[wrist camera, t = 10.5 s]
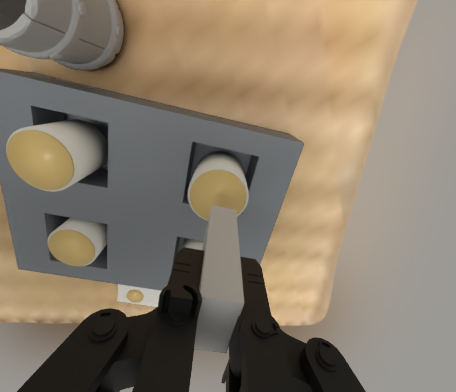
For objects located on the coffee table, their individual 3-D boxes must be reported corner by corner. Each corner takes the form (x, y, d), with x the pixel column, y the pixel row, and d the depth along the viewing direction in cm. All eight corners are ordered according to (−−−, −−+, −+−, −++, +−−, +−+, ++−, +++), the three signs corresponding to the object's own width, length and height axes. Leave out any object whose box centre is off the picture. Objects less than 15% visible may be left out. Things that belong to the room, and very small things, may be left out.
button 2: (57, 165, 21) (9, 185, 17) (52, 113, 20) (-3, 119, 15) (108, 175, 22) (77, 198, 17) (109, 126, 20) (73, 136, 15)
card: (119, 297, 34) (116, 302, 33) (120, 262, 31) (118, 266, 30) (185, 307, 35) (184, 311, 34) (192, 273, 32) (191, 277, 31)
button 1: (78, 234, 28) (48, 263, 23) (76, 200, 26) (43, 224, 21) (117, 241, 28) (96, 271, 24) (118, 208, 26) (95, 233, 22)
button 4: (191, 192, 23) (183, 218, 18) (199, 146, 21) (192, 161, 16) (237, 201, 23) (240, 228, 19) (249, 157, 21) (256, 175, 17)
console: (50, 241, 29) (18, 269, 25) (29, 71, 21) (-23, 66, 17) (242, 273, 32) (245, 303, 28) (289, 133, 24) (304, 143, 19)
